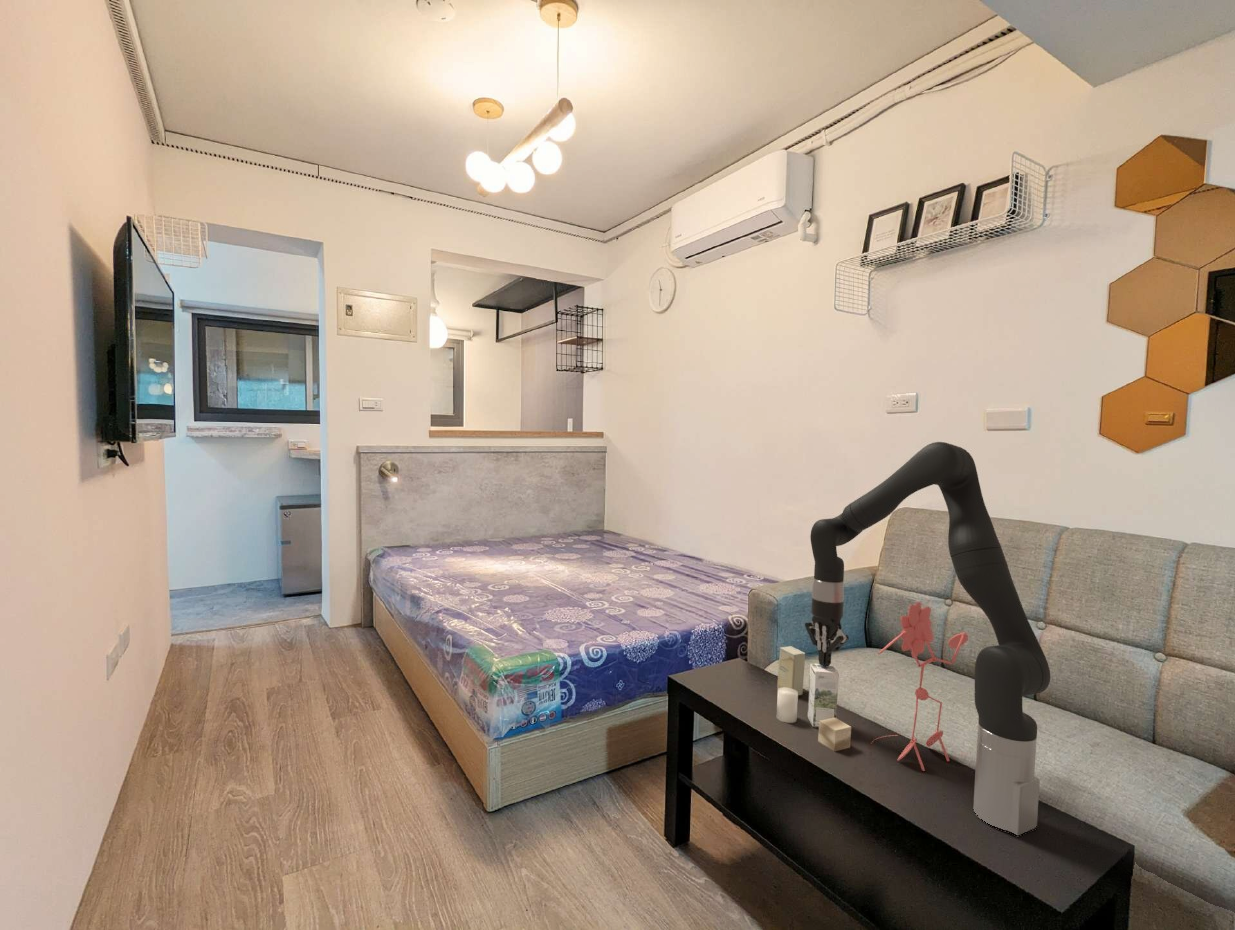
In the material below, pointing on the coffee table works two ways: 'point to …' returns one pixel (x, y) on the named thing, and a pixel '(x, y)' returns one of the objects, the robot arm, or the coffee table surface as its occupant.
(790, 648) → the skincare box
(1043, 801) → the coffee table surface
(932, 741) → the pink stick figure
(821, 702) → the syrup box
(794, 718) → the ceramic cylinder
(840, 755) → the coffee table surface
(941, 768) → the coffee table surface
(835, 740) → the birch block
